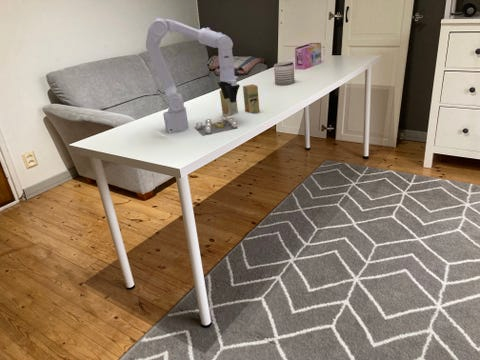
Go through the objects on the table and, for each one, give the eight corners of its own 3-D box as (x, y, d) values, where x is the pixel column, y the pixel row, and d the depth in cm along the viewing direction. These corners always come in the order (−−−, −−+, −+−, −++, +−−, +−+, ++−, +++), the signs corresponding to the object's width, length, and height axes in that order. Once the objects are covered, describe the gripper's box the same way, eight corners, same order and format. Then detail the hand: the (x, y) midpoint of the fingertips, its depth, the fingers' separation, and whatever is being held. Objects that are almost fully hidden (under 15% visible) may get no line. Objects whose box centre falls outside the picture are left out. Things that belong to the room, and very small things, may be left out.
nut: (219, 129, 159) (218, 125, 158) (213, 127, 162) (212, 123, 162) (227, 126, 161) (226, 122, 160) (221, 124, 164) (220, 120, 164)
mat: (202, 137, 154) (202, 135, 153) (194, 129, 165) (194, 127, 164) (238, 130, 158) (238, 128, 158) (227, 122, 169) (227, 120, 169)
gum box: (304, 69, 257) (303, 48, 252) (293, 69, 262) (293, 48, 256) (321, 63, 274) (321, 42, 268) (311, 62, 278) (311, 42, 272)
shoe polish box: (245, 112, 180) (242, 86, 175) (254, 110, 182) (252, 84, 177) (249, 114, 176) (247, 88, 171) (259, 112, 178) (257, 86, 173)
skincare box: (231, 113, 181) (228, 86, 176) (238, 114, 179) (235, 87, 174) (222, 116, 177) (218, 90, 172) (229, 118, 175) (226, 90, 169)
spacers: (203, 135, 154) (202, 129, 152) (195, 127, 164) (194, 121, 163) (239, 127, 158) (239, 121, 157) (229, 120, 168) (229, 114, 167)
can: (285, 86, 219) (284, 64, 214) (270, 84, 227) (269, 63, 222) (298, 82, 225) (298, 61, 220) (284, 80, 233) (283, 60, 228)
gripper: (242, 67, 152) (245, 102, 158) (229, 63, 165) (232, 95, 170) (225, 70, 150) (229, 105, 156) (213, 65, 162) (217, 98, 168)
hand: (230, 100), depth 163 cm, fingers open, 7 cm apart
